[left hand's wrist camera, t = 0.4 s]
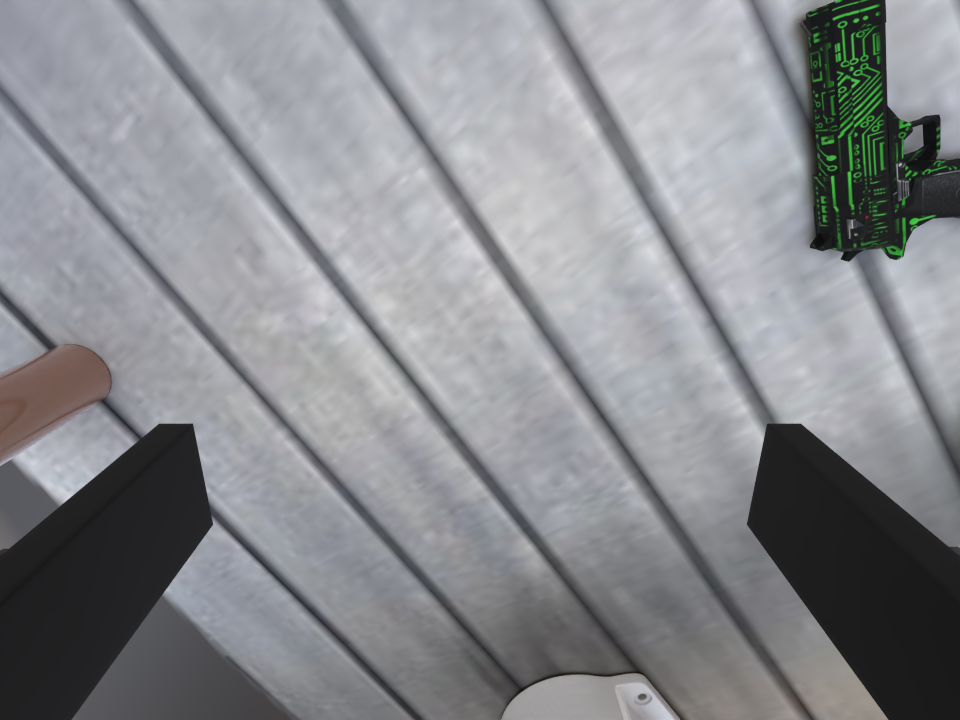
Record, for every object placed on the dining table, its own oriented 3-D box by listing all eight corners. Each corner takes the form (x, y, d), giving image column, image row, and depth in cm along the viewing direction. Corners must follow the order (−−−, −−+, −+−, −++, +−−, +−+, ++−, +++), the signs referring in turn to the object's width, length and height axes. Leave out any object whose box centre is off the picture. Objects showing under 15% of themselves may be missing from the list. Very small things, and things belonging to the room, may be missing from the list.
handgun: (1044, 238, 36) (813, 281, 36) (1002, 233, 39) (788, 273, 39) (1087, -55, 31) (816, 1, 31) (1034, -36, 33) (786, 15, 34)
